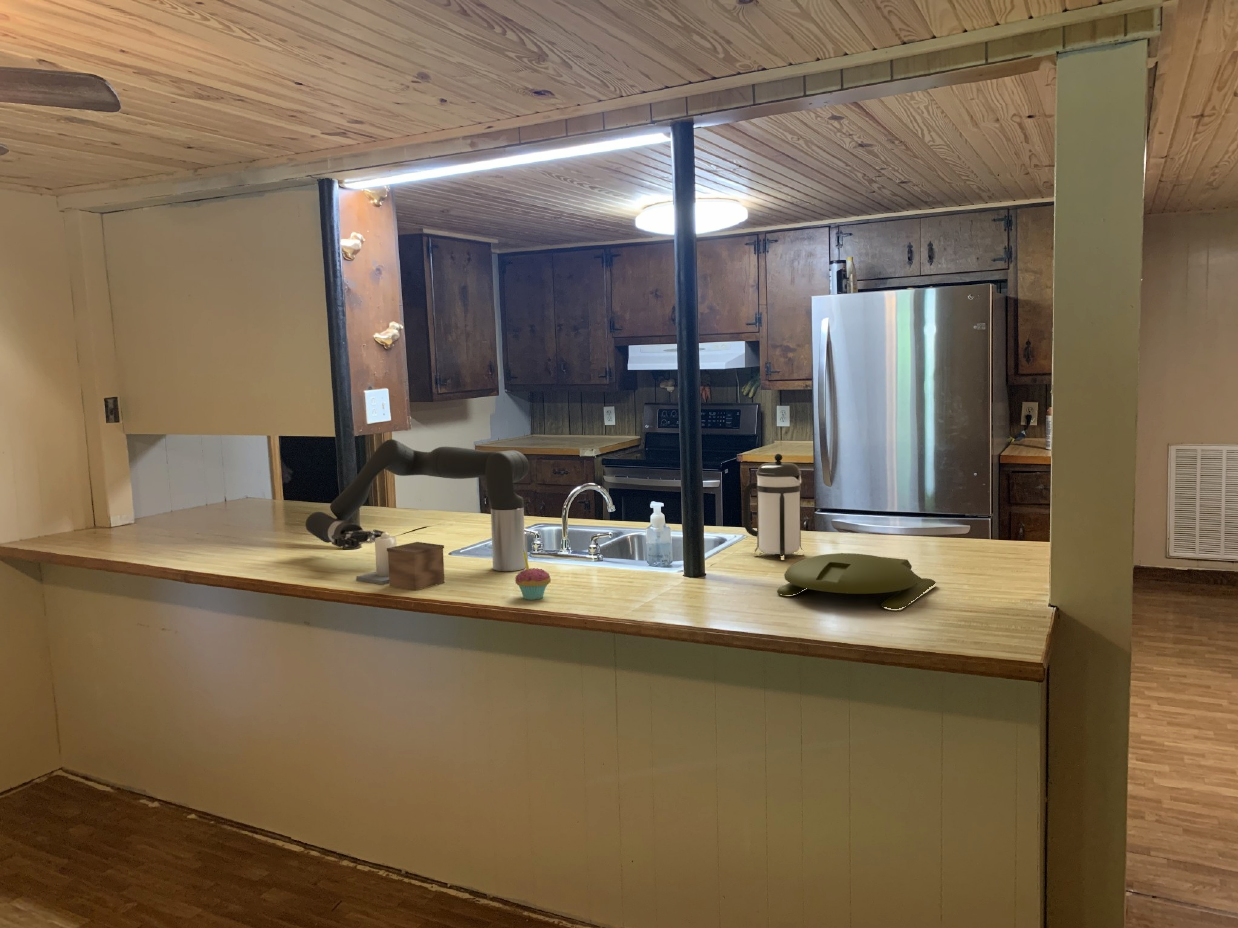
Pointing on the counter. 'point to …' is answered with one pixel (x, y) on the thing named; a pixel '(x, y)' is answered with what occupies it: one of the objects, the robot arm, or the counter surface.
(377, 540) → the white pillar candle
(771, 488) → the coffee press
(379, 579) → the mat
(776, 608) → the counter surface
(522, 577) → the cupcake
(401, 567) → the wooden lidded box
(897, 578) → the spaceship
